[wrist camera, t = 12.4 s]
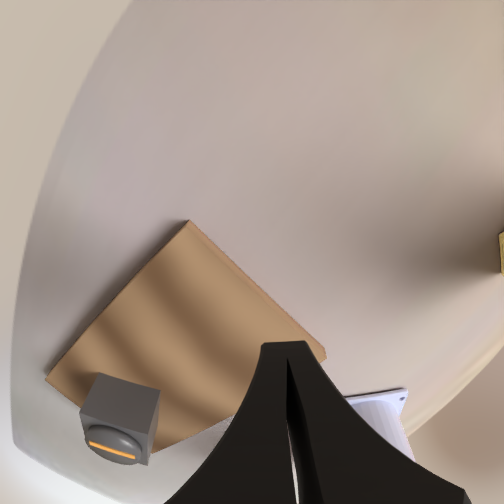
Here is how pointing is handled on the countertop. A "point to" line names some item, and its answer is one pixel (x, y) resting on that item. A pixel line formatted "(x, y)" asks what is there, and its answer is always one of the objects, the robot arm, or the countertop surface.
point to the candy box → (502, 251)
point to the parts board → (181, 337)
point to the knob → (120, 419)
